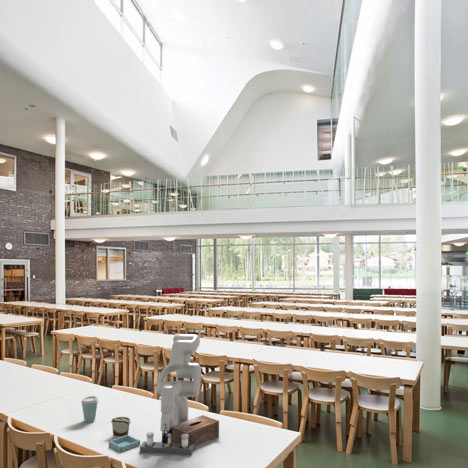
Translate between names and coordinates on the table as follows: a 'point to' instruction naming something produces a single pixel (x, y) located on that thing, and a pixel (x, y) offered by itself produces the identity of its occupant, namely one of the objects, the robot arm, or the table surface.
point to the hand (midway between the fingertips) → (167, 439)
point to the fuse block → (160, 449)
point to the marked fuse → (168, 441)
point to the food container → (120, 426)
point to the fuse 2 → (184, 440)
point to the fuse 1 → (150, 439)
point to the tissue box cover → (196, 430)
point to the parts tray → (124, 443)
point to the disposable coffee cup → (89, 408)
